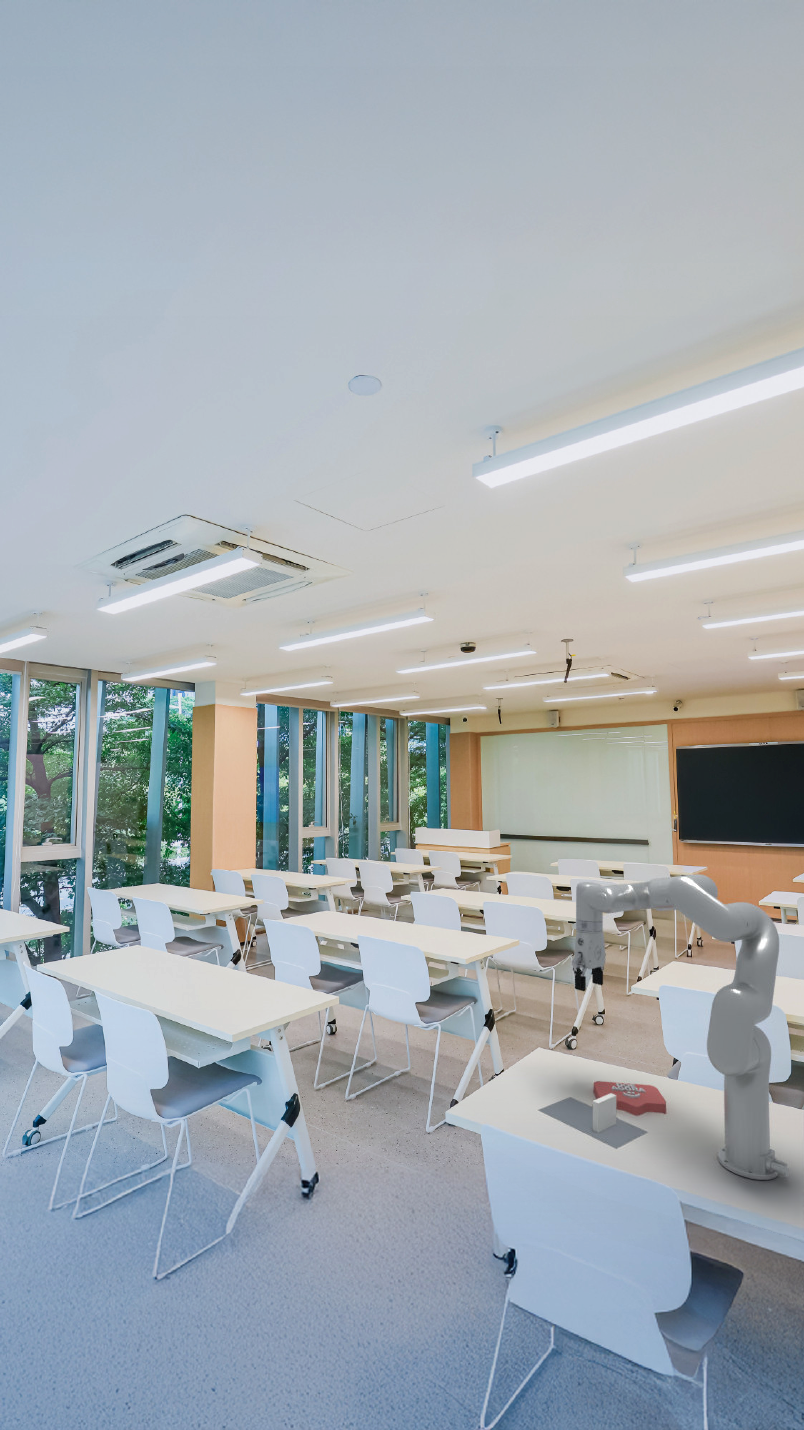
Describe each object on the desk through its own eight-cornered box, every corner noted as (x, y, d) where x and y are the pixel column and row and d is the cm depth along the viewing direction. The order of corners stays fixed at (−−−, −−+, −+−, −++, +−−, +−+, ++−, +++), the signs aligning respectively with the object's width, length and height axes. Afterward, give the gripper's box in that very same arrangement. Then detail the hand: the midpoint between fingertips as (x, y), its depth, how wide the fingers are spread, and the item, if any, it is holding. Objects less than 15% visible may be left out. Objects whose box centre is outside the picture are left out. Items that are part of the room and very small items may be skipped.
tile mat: (647, 1134, 171) (647, 1132, 171) (616, 1150, 162) (616, 1148, 162) (570, 1098, 189) (570, 1096, 189) (537, 1111, 181) (538, 1110, 181)
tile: (616, 1123, 175) (616, 1095, 175) (598, 1132, 170) (598, 1103, 170) (610, 1121, 176) (610, 1093, 177) (592, 1129, 171) (592, 1100, 172)
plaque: (602, 1101, 181) (592, 1078, 196) (602, 1116, 180) (592, 1092, 195) (671, 1106, 179) (655, 1083, 194) (671, 1122, 179) (655, 1097, 193)
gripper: (585, 931, 187) (585, 995, 185) (615, 925, 199) (615, 984, 197) (562, 927, 193) (561, 989, 191) (592, 920, 205) (592, 979, 203)
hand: (589, 987), depth 194 cm, fingers open, 9 cm apart
